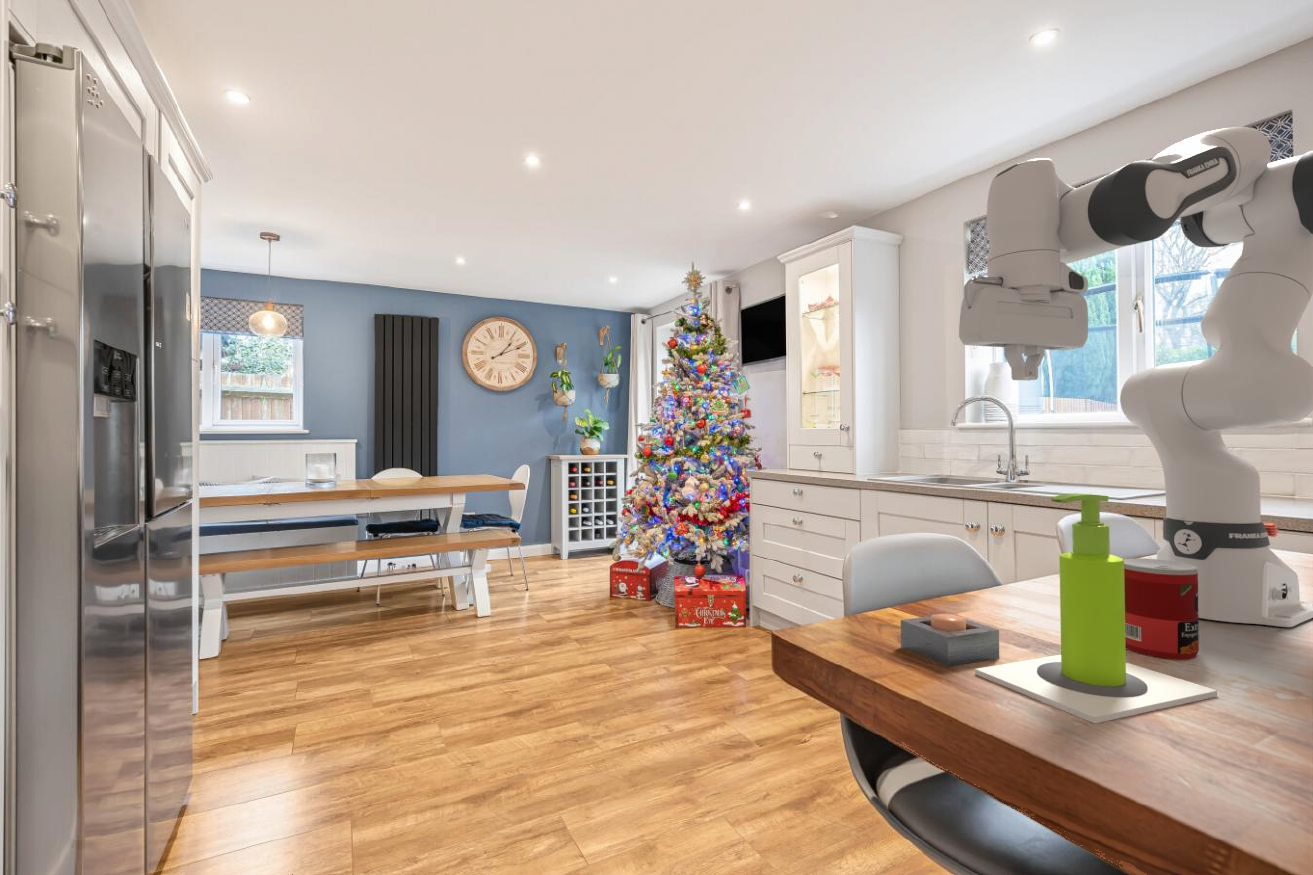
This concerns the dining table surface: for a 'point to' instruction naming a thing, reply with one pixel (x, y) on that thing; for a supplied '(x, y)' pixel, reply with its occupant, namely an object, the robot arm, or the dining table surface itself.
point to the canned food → (1161, 608)
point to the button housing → (950, 642)
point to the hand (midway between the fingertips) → (1024, 380)
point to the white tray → (1095, 689)
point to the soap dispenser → (1092, 601)
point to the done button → (948, 622)
